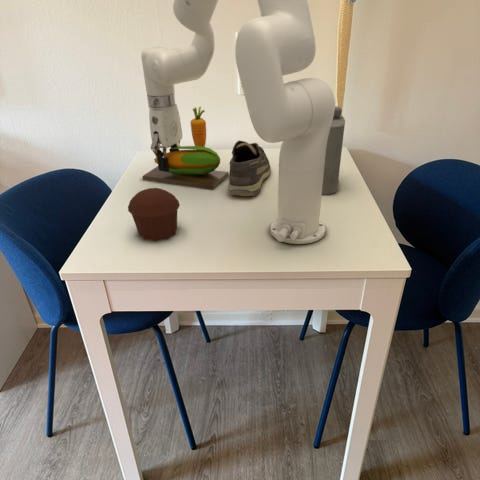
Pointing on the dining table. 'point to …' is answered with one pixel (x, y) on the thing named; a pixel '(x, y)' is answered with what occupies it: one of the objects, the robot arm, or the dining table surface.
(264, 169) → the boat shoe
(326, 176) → the flask
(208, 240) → the dining table surface
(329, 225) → the dining table surface
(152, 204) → the muffin
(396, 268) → the dining table surface
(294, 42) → the robot arm
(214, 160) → the corn
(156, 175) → the board
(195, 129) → the carrot
